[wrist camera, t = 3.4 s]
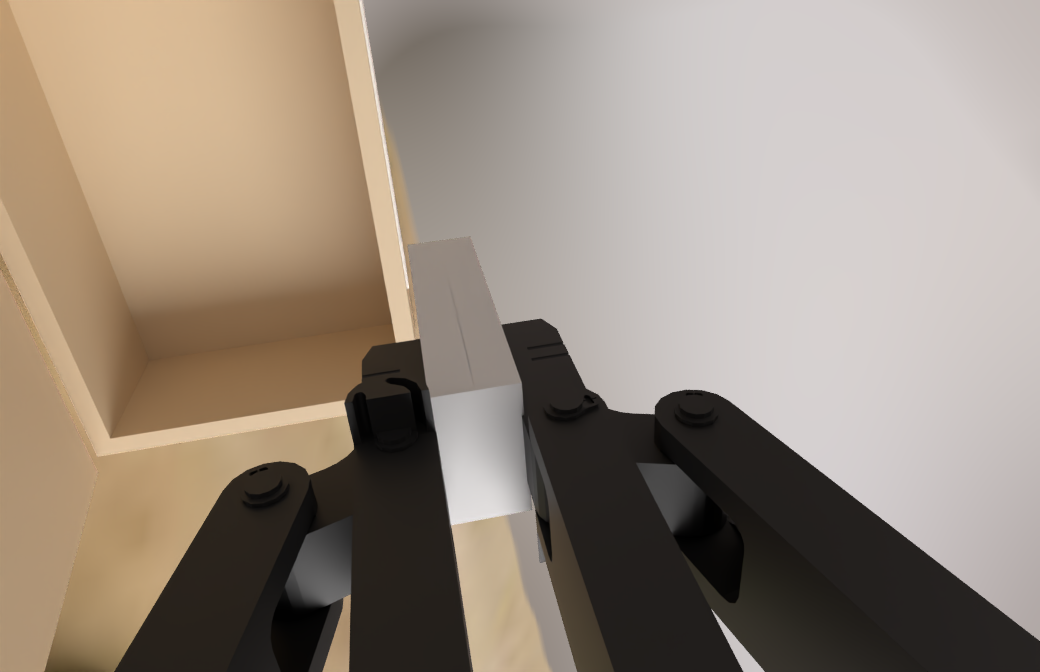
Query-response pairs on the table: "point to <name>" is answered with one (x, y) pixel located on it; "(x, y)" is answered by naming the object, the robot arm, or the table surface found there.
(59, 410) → the lid
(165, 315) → the open box
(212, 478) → the table surface
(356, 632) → the robot arm
